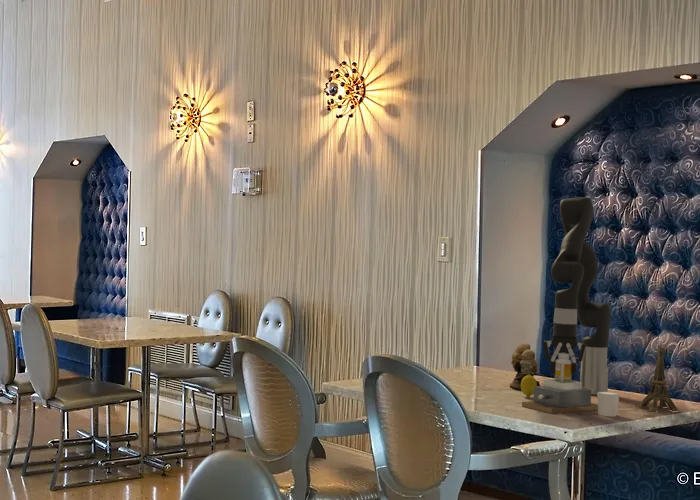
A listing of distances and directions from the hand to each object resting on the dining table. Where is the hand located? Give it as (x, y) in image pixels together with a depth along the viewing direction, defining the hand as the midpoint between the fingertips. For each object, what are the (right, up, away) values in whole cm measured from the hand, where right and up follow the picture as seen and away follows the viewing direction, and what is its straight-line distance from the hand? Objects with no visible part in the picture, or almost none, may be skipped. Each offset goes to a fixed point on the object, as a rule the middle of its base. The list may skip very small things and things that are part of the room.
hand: (563, 373), depth 324 cm
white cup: (+12, -12, -10) cm, 20 cm away
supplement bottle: (0, -3, 0) cm, 3 cm away
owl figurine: (-4, -11, +43) cm, 45 cm away
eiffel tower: (+33, -13, +5) cm, 36 cm away
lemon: (-8, -11, +21) cm, 25 cm away
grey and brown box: (0, -11, 0) cm, 11 cm away
